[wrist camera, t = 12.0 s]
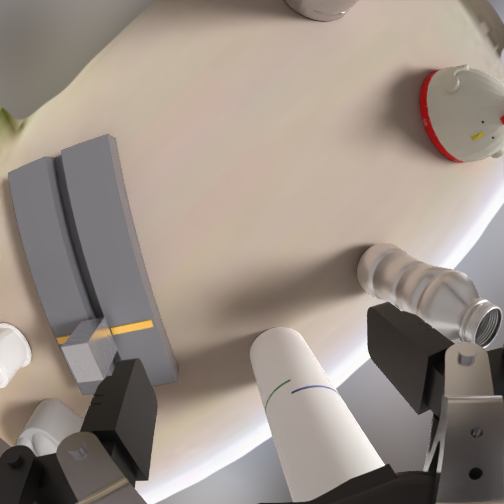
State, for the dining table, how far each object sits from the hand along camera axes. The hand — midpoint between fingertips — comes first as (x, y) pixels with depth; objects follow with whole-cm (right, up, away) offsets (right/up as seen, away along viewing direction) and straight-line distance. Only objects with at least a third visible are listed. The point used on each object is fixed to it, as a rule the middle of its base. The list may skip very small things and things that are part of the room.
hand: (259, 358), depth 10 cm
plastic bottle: (+15, +2, +28) cm, 32 cm away
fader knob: (-17, -5, +23) cm, 29 cm away
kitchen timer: (+29, +23, +26) cm, 45 cm away
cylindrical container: (+3, -9, +29) cm, 30 cm away
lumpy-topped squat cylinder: (-30, -24, +27) cm, 47 cm away
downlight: (-34, -9, +23) cm, 42 cm away
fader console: (-18, +1, +23) cm, 29 cm away
